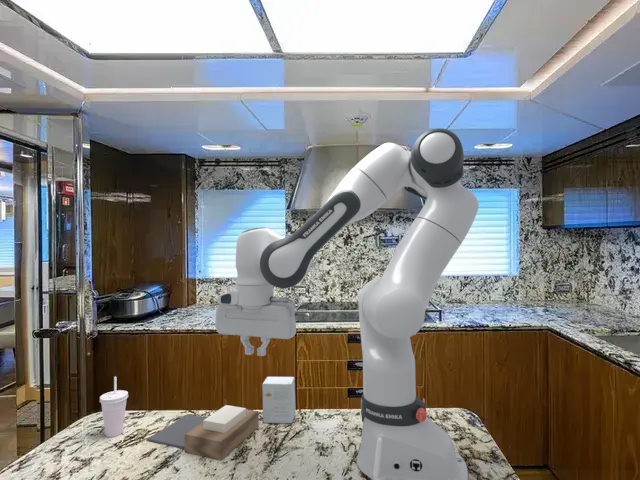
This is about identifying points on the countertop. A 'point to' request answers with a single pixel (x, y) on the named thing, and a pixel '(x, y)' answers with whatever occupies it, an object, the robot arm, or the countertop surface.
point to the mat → (177, 431)
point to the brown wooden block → (220, 437)
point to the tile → (224, 418)
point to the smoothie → (114, 410)
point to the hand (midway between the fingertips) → (255, 354)
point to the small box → (278, 399)
